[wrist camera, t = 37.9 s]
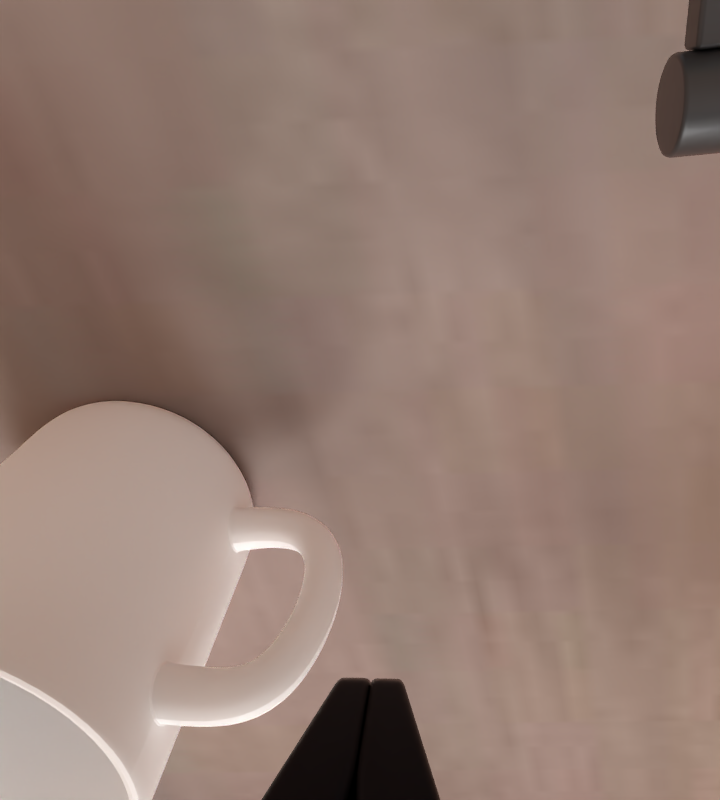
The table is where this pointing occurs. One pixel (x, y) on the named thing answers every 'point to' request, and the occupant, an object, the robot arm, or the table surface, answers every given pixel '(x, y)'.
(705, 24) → the drawer
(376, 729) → the robot arm
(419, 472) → the table surface
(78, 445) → the cup
